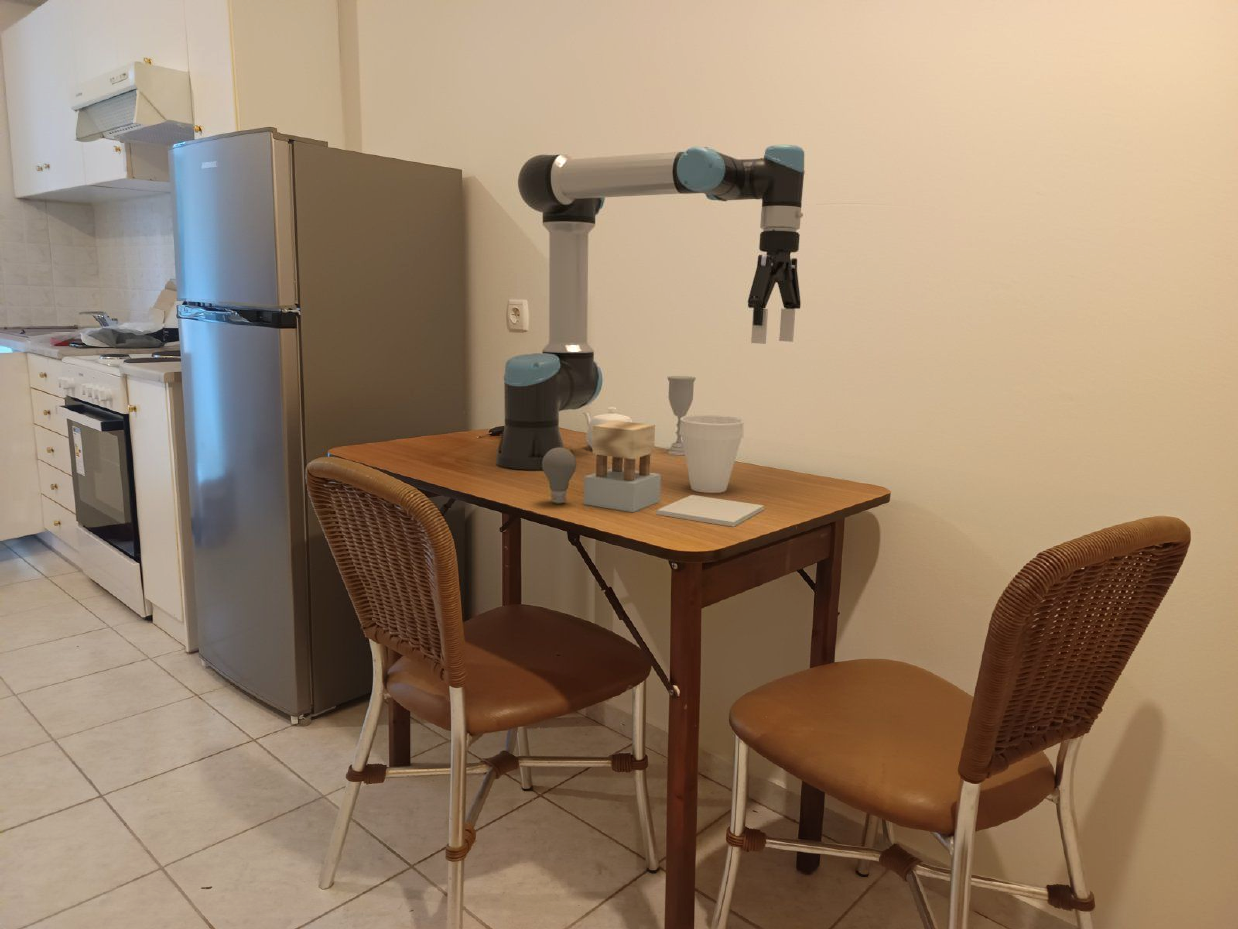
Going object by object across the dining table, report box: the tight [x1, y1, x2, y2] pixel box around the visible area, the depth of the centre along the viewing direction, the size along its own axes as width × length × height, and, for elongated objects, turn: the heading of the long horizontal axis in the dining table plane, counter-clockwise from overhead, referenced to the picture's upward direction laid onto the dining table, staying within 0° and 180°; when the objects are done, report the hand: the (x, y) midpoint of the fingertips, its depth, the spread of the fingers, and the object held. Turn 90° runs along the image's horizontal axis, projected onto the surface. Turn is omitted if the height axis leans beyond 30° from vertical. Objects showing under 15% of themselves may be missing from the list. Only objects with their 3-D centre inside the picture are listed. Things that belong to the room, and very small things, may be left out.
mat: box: [656, 494, 765, 528], centre depth 151 cm, size 14×14×1 cm
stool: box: [592, 421, 656, 481], centre depth 154 cm, size 8×8×9 cm
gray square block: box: [583, 467, 662, 513], centre depth 156 cm, size 10×10×5 cm
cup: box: [679, 414, 745, 494], centre depth 168 cm, size 12×12×14 cm
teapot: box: [582, 406, 634, 450], centre depth 210 cm, size 20×12×10 cm, turn 43°
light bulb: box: [542, 447, 577, 505], centre depth 154 cm, size 6×6×10 cm
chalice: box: [666, 375, 697, 456], centre depth 206 cm, size 7×7×18 cm
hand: (772, 342), depth 172 cm, fingers open, 13 cm apart
